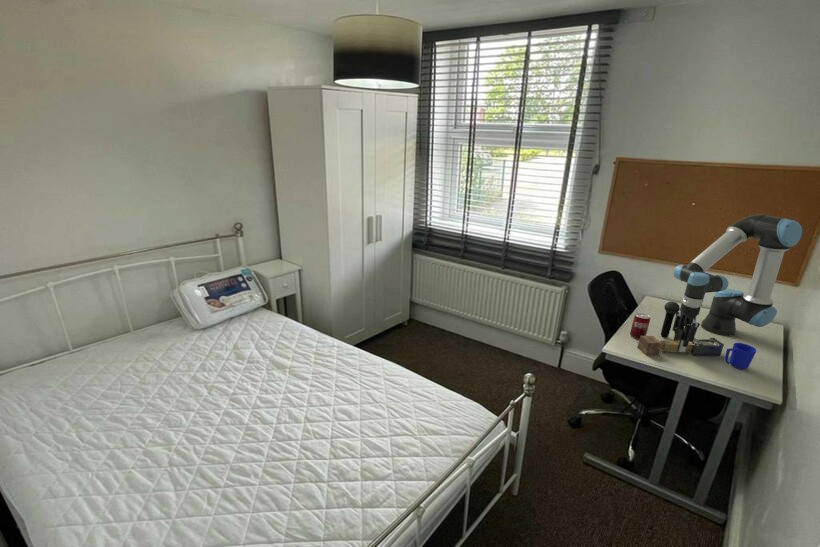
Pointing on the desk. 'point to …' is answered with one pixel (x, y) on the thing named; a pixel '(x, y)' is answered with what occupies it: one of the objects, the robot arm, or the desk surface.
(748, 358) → the mug
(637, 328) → the soda can
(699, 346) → the sleeve
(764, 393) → the desk surface
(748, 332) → the desk surface
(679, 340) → the hammer
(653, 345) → the socket
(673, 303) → the microphone
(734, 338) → the desk surface
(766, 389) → the desk surface
